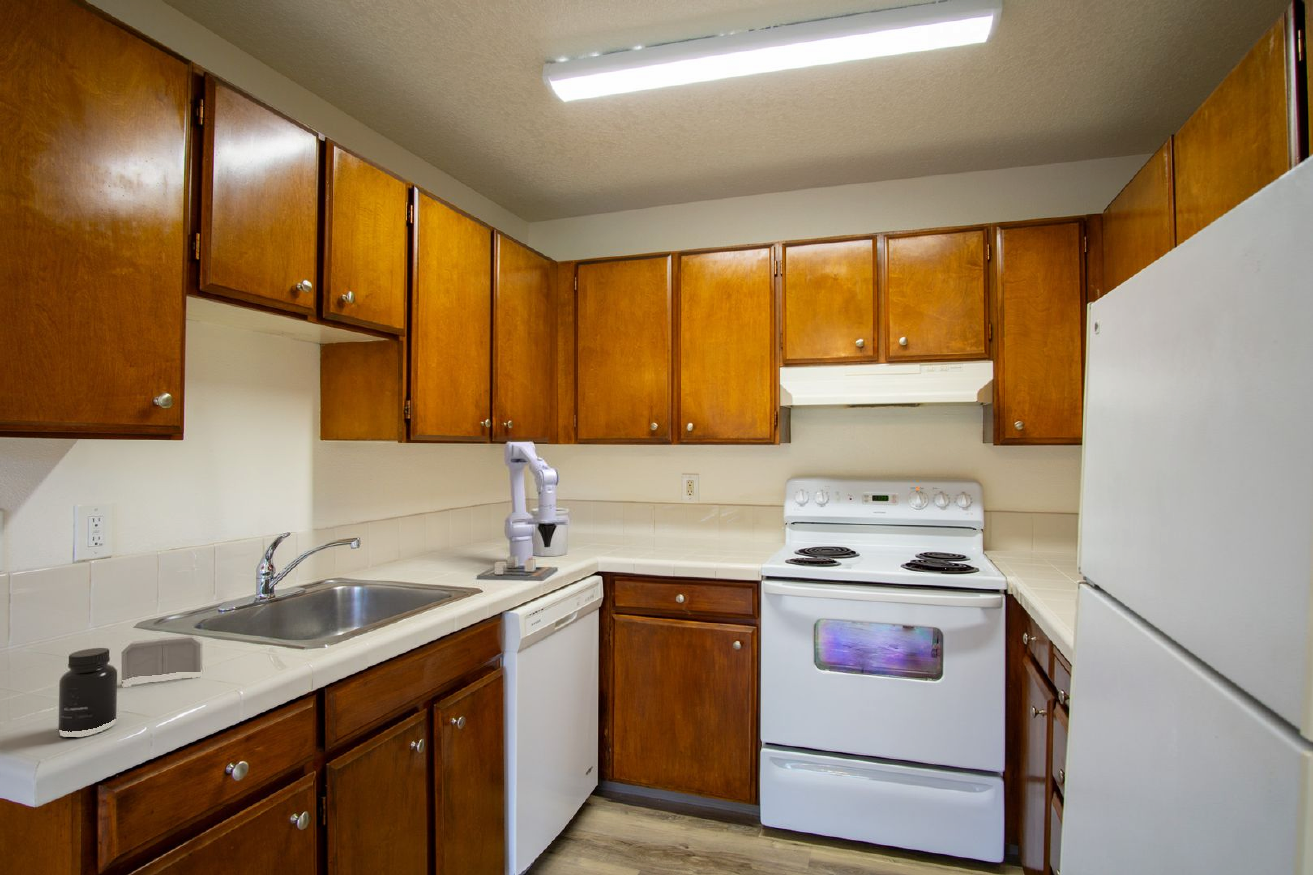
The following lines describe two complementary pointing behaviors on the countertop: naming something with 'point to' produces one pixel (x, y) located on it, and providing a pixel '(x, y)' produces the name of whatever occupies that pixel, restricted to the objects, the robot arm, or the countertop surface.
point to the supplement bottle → (87, 691)
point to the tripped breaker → (530, 564)
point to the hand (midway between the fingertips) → (547, 546)
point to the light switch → (162, 656)
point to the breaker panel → (516, 571)
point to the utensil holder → (558, 538)
